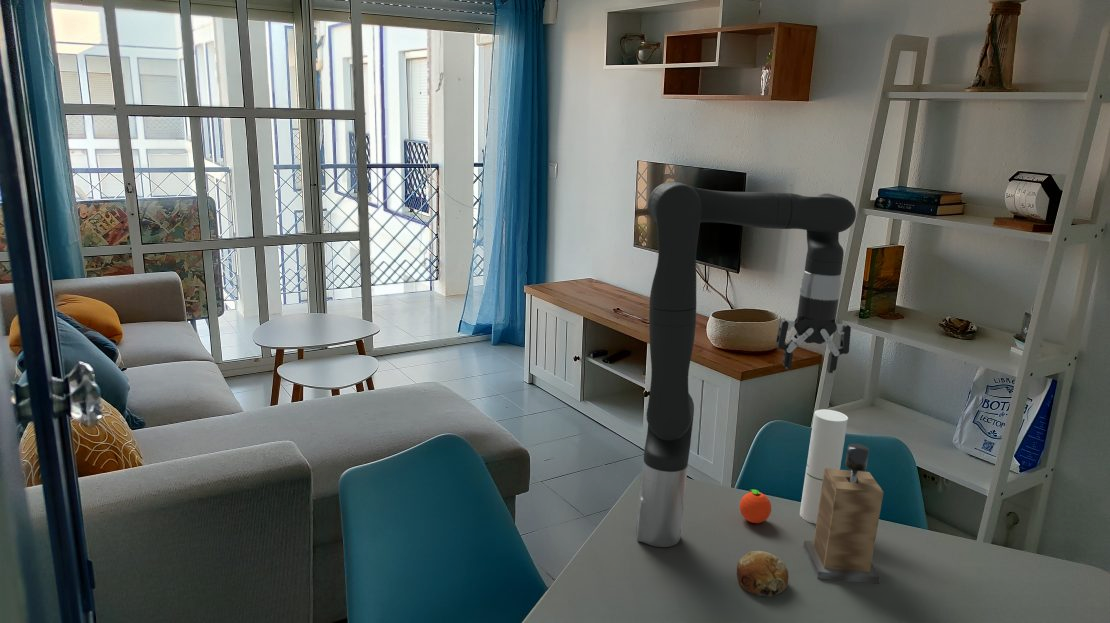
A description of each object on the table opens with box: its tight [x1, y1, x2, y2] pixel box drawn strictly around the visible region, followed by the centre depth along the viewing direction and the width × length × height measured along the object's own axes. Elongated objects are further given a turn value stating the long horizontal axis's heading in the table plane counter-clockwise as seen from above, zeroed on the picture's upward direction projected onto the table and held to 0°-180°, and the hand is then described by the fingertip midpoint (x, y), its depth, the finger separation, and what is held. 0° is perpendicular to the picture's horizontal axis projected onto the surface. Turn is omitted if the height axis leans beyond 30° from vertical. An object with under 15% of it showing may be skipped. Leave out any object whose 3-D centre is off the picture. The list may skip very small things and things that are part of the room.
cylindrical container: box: [799, 408, 849, 525], centre depth 181 cm, size 7×7×25 cm
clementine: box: [739, 489, 772, 524], centre depth 180 cm, size 8×7×7 cm
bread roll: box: [736, 550, 789, 598], centre depth 156 cm, size 10×10×8 cm
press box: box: [803, 469, 884, 584], centre depth 162 cm, size 12×12×19 cm
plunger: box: [844, 443, 870, 483], centre depth 161 cm, size 7×7×24 cm
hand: (808, 370), depth 165 cm, fingers open, 8 cm apart
